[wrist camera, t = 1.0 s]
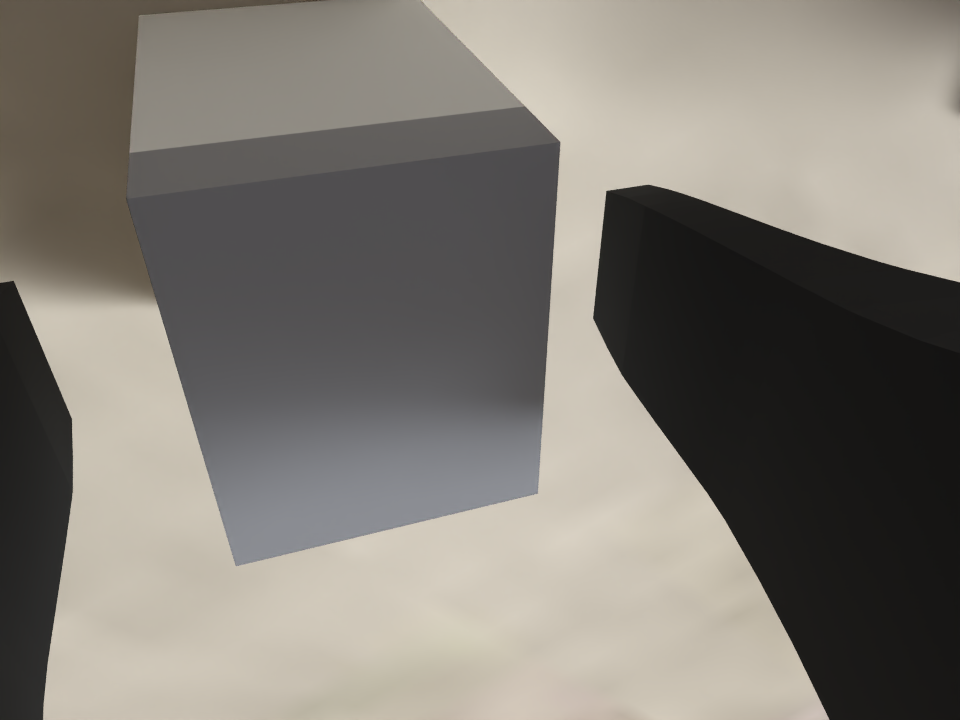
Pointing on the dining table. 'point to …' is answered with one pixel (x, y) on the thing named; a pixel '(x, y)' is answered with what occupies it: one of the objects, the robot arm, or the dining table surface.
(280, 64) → the grey rectangular block
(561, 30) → the dining table surface
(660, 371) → the robot arm
